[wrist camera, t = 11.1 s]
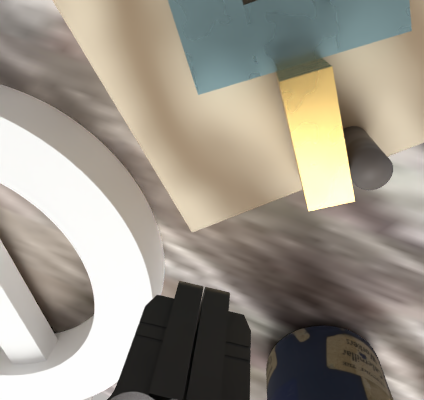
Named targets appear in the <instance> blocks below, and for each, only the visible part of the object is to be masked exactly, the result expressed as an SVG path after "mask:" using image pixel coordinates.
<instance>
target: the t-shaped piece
mask: <svg viewBox="0 0 424 400" xmlns="http://www.w3.org/2000/svg"><path fill="white" fill-rule="evenodd" d="M168 3H169V6H170V9H171V12H172V15H173V18H174V21H175V24H176V28H177V31H178V34H179V37H180V40H181V43H182V46H183V49H184V53H185V56H186V59H187V62H188V65H189V68H190V71H191V74H192V77H193V81H194V84H195V87H196V90H197V93H198V95H200V94H203V93H207V92H210V91H213V90H217V89H220V88H223V87H227V86H230V85H233V84H237V83H240V82H243V81H247V80H250V79H253V78H257V77H260V76H263V75H267V74H270V73H273V72H276V77H277V81H278V85H279V90H280V94H281V99H282V103H283V107H284V112H285V116H286V120H287V125H288V129H289V133H290V138H291V142H292V146H293V151H294V155H295V160H296V164H297V168H298V173H299V177H300V181H301V185H302V189H303V192H304V196H305V200H306V204H307V207H308V211H312V210H317V209H321V208H326V207H331V206H335V205H340V204H344V203H349V202H354V201H355V199H354V193H353V187H352V181H351V175H350V169H349V163H348V157H347V151H346V145H345V139H344V133H343V127H342V121H341V115H340V109H339V103H338V97H337V91H336V85H335V79H334V73H333V67H332V66H331V65H330V64H329V63H328V62H327V61H325V60H324V59H323V57H327V56H330V55H333V54H337V53H340V52H343V51H347V50H350V49H353V48H357V47H360V46H363V45H367V44H370V43H373V42H377V41H380V40H383V39H387V38H390V37H393V36H397V35H400V34H403V33H407V32H410V31H412V27H411V14H410V2H409V0H257V1H254V2H251V3H248V4H245V5H244V4H243V0H168Z"/></svg>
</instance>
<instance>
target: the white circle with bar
mask: <svg viewBox="0 0 424 400" xmlns="http://www.w3.org/2000/svg"><path fill="white" fill-rule="evenodd" d="M0 183H1V184H3V185H4V186H6V187H8V188H10V189H11V190H13V191H15V192H16V193H18V194H19V195H21V196H22V197H24V198H25V199H26V200H28V201H29V202H31V203H32V204H33V205H34V206H36V207H37V208H38V209H39V210H41V211H42V212H43V213H44V214H45V215H46V216H47V217H48V218H49V219H50V220H51V221H52V222H53V223H54V224H55V225H56V226H57V227H58V228H59V229H60V230H61V231H62V232H63V234H64V235H65V236H66V237H67V239H68V240H69V241H70V243H71V244H72V245H73V247H74V248H75V250H76V251H77V253H78V255H79V256H80V258H81V260H82V262H83V264H84V266H85V268H86V270H87V273H88V275H89V278H90V281H91V285H92V289H93V294H94V303H95V311H94V315H93V316H92V317H91V318H89V319H88V320H87V321H85V322H84V323H82V324H80V325H78V326H76V327H74V328H72V329H69V330H66V331H63V332H59V333H55V334H54V332H53V330H52V329H51V327H50V325H49V324H48V322H47V320H46V318H45V317H44V315H43V313H42V311H41V310H40V308H39V306H38V304H37V303H36V301H35V299H34V297H33V296H32V294H31V292H30V290H29V289H28V287H27V285H26V283H25V282H24V280H23V278H22V276H21V275H20V273H19V271H18V269H17V268H16V266H15V264H14V262H13V261H12V259H11V257H10V255H9V254H8V252H7V250H6V248H5V247H4V245H3V243H2V241H1V240H0V400H92V399H93V396H94V395H96V394H98V393H100V392H102V391H104V390H105V389H107V388H109V387H110V386H112V385H113V384H115V383H116V382H117V381H118V380H119V377H120V375H121V372H122V369H123V366H124V363H125V361H126V358H127V355H128V352H129V350H130V347H131V344H132V341H133V338H134V336H135V333H136V330H137V327H138V324H139V322H140V319H141V316H142V313H143V310H144V308H145V306H146V305H147V304H148V303H149V302H150V301H151V300H152V299H153V298H154V297H155V296H156V295H161V293H162V289H163V284H164V275H165V260H164V250H163V244H162V240H161V235H160V232H159V228H158V225H157V222H156V220H155V217H154V215H153V212H152V210H151V208H150V206H149V204H148V202H147V200H146V198H145V196H144V194H143V193H142V191H141V189H140V188H139V186H138V185H137V183H136V182H135V180H134V179H133V177H132V176H131V175H130V173H129V172H128V171H127V169H126V168H125V167H124V166H123V164H122V163H121V162H120V161H119V160H118V159H117V157H116V156H115V155H114V154H113V153H112V152H111V151H110V150H109V149H108V148H107V147H106V146H105V145H104V144H103V143H102V142H101V141H100V140H98V139H97V138H96V137H95V136H94V135H93V134H92V133H90V132H89V131H88V130H87V129H85V128H84V127H83V126H81V125H80V124H79V123H77V122H76V121H75V120H73V119H72V118H70V117H69V116H67V115H66V114H64V113H63V112H61V111H59V110H58V109H56V108H54V107H52V106H51V105H49V104H47V103H45V102H43V101H41V100H39V99H37V98H35V97H33V96H31V95H28V94H26V93H23V92H21V91H19V90H16V89H13V88H10V87H7V86H4V85H1V84H0Z"/></svg>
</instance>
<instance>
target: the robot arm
mask: <svg viewBox="0 0 424 400" xmlns="http://www.w3.org/2000/svg"><path fill="white" fill-rule="evenodd" d="M202 292H203V286H199V285H195V284H190V283H186V282H182V281H179V284H178V287H177V291H176V295H175V298H174V299H173V298H169V297H165V296H161V295H156V296H155V297H154V298H153V299H152V300H151V301H150V302H149V303H148V304H147V305H146V306H145V308H144V310H143V313H142V316H141V319H140V322H139V324H138V327H137V330H136V333H135V336H134V338H133V341H132V344H131V347H130V350H129V352H128V355H127V358H126V361H125V363H124V366H123V369H122V372H121V375H120V377H119V380H118V383H117V386H116V388H115V390H114V392H113V393H112V395H111V396H110V397H109V398H108V399H107V400H250V347H251V330H250V328H249V325H248V323H247V321H246V319H245V316H244V315H242V314H238V313H234V312H229V311H228V310H229V298H230V293H229V292H225V291H221V290H216V289H212V288H208V287H205V289H204V293H203V297H202ZM201 298H202V300H201ZM200 303H201V304H200Z"/></svg>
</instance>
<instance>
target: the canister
mask: <svg viewBox="0 0 424 400" xmlns="http://www.w3.org/2000/svg"><path fill="white" fill-rule="evenodd" d="M266 376H267V400H393V398H392V395H391V392H390V390H389V387H388V384H387V382H386V379H385V376H384V373H383V370H382V368H381V365H380V362H379V360H378V357H377V355H376V353H375V351H374V350H373V348H372V347H371V346H370V345H369V343H368V342H367V341H366V340H364V339H363V338H362V337H360V336H359V335H357V334H355V333H353V332H351V331H349V330H347V329H343V328H339V327H334V326H313V327H307V328H303V329H299V330H297V331H294V332H292V333H290V334H289V335H287V336H286V337H284V338H283V339H281V340H280V341H279V342H278V343H277V344H276V345H275V347H274V348H273V350H272V351H271V353H270V355H269V358H268V361H267V368H266Z"/></svg>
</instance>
